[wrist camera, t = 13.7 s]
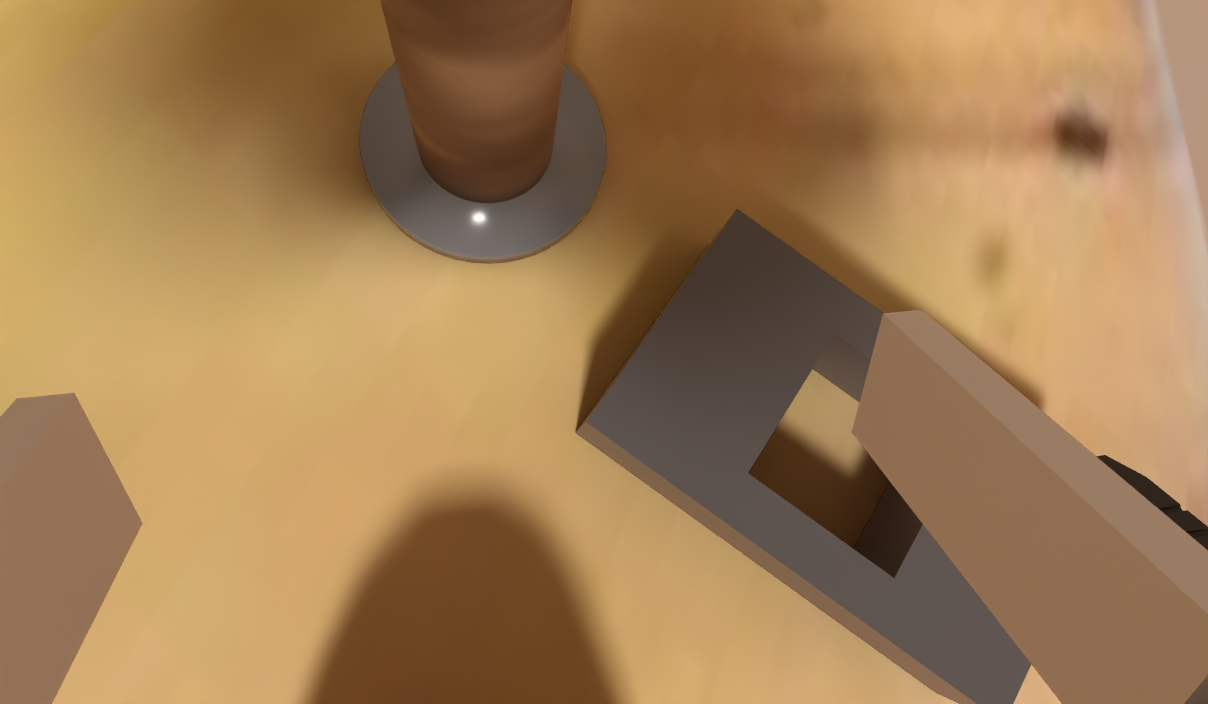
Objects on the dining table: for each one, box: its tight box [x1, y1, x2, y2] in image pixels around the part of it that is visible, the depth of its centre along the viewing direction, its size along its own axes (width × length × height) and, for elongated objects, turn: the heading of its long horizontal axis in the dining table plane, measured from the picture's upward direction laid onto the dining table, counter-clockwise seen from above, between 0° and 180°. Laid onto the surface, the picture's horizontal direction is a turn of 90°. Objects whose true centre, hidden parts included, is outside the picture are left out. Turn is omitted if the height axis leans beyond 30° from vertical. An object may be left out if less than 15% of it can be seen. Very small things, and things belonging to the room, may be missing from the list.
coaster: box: [360, 63, 606, 263], centre depth 23 cm, size 8×8×1 cm
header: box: [576, 209, 1031, 704], centre depth 21 cm, size 14×8×3 cm, turn 55°
